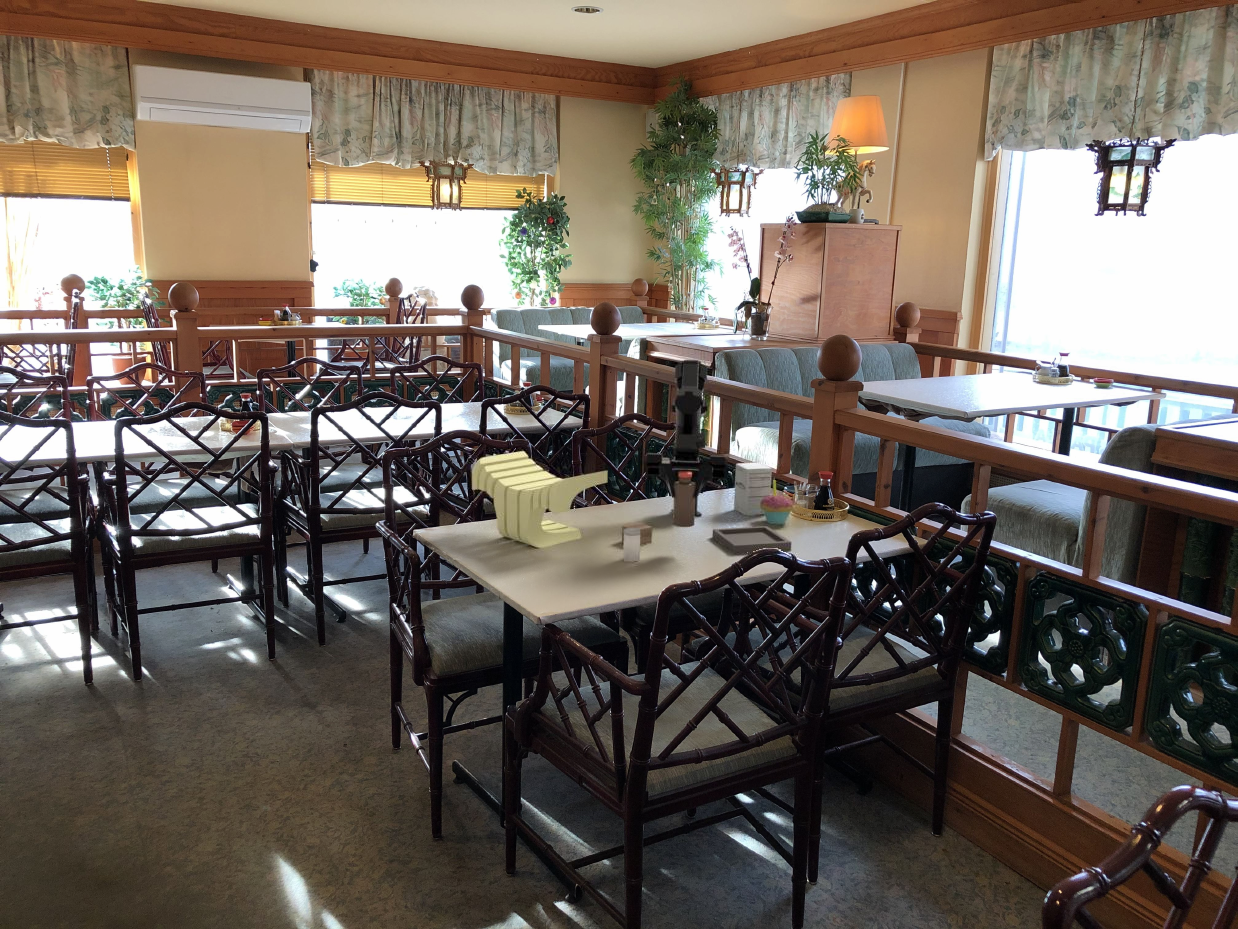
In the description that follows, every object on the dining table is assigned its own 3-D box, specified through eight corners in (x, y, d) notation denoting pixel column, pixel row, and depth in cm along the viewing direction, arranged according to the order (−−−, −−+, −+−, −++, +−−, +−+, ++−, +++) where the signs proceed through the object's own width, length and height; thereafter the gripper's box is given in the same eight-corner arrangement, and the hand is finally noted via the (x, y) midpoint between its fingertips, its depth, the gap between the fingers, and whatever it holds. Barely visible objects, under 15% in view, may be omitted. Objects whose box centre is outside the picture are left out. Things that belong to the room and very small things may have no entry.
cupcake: (782, 528, 242) (785, 481, 240) (752, 522, 247) (754, 476, 245) (798, 521, 249) (801, 475, 246) (769, 515, 254) (771, 471, 251)
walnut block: (621, 541, 228) (622, 525, 228) (638, 538, 231) (638, 522, 231) (634, 546, 225) (635, 530, 224) (651, 543, 227) (651, 527, 227)
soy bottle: (670, 522, 221) (671, 470, 218) (690, 520, 222) (691, 469, 220) (676, 527, 216) (678, 475, 214) (697, 526, 218) (699, 474, 215)
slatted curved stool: (472, 531, 235) (471, 459, 231) (523, 519, 246) (523, 451, 242) (554, 559, 214) (555, 480, 210) (606, 545, 225) (607, 470, 221)
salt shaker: (621, 557, 216) (622, 528, 214) (636, 556, 217) (637, 527, 215) (625, 562, 212) (626, 532, 211) (641, 561, 213) (642, 531, 212)
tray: (712, 537, 233) (712, 529, 232) (766, 533, 237) (766, 526, 236) (734, 554, 220) (734, 545, 219) (791, 550, 223) (791, 542, 223)
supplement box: (733, 509, 260) (735, 463, 257) (758, 507, 262) (760, 461, 260) (744, 516, 253) (746, 468, 251) (770, 514, 255) (772, 467, 253)
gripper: (646, 418, 219) (641, 476, 211) (729, 420, 217) (727, 479, 209) (647, 445, 228) (643, 502, 220) (727, 448, 227) (725, 506, 218)
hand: (684, 497), depth 217 cm, fingers closed on soy bottle, 5 cm apart
